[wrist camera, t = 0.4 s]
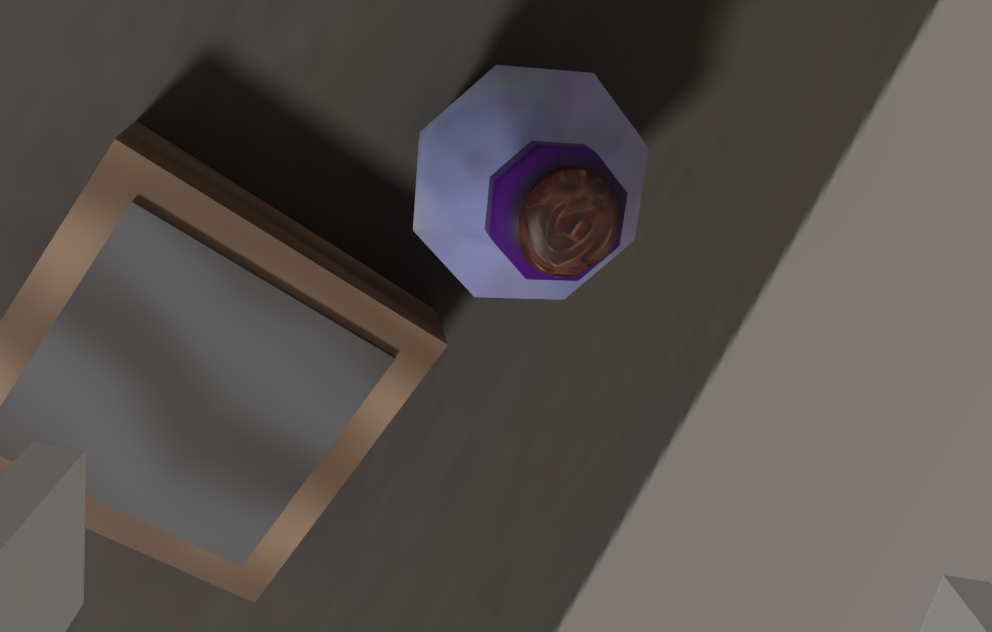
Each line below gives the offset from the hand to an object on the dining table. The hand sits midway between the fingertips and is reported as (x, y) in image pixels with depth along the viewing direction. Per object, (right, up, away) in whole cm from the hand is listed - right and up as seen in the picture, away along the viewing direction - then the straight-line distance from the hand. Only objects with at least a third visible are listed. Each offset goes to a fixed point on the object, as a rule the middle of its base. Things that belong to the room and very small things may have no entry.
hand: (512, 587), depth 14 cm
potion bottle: (0, +11, +23) cm, 26 cm away
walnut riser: (-13, +3, +24) cm, 27 cm away
